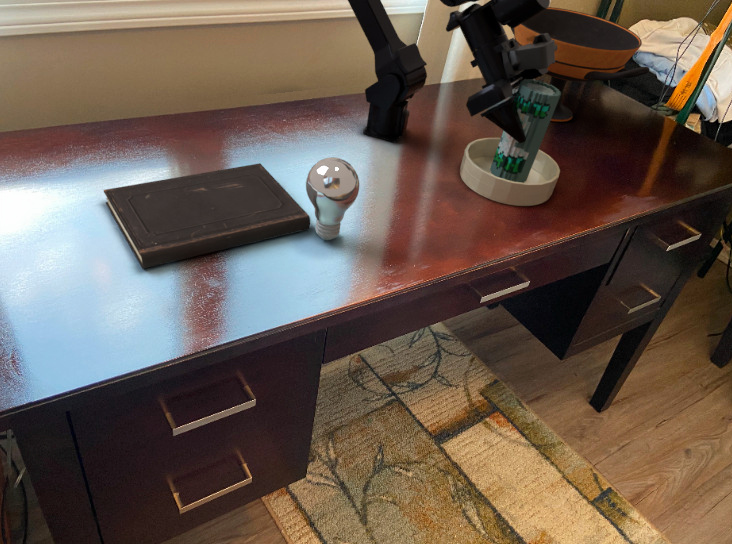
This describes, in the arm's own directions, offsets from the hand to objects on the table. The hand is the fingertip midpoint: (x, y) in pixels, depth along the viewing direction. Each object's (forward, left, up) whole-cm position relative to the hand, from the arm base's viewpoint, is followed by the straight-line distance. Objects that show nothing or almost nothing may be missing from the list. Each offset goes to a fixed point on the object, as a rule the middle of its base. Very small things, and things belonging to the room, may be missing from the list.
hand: (530, 135), depth 97 cm
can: (-2, 0, -8) cm, 8 cm away
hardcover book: (-38, -35, -10) cm, 52 cm away
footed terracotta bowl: (+1, +38, -10) cm, 39 cm away
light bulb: (-22, -31, -10) cm, 39 cm away
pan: (-2, +1, -9) cm, 10 cm away
